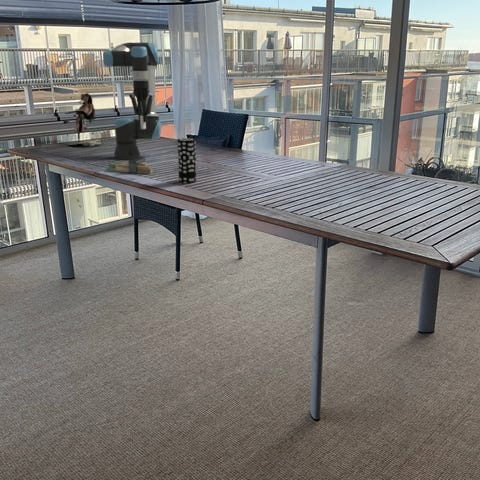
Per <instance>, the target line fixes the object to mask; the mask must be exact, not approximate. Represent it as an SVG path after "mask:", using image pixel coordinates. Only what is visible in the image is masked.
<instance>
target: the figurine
mask: <svg viewBox="0 0 480 480" xmlns="http://www.w3.org/2000/svg"><path fill="white" fill-rule="evenodd" d="M78 104H80V107H79V108H75V109H74V110H70V111H66V112H64V114H65V115H70V114H73V117H74V121H75V123H76V124H75V128H74V129H73V133H74V134H75V133H77V141H78V142H73V143H74V144H73V143H70V144H69V143H68V146H71V145H74V146H77V145H79V144H81V145H82V146H86V147H87V146H88V147H89V148H92V147H95V146H97V145H101V144H102V143H103V142H104V139H103V138H102V139H99V138H96V139H95V140H92V139H94V137H91V140H87V141H84V140H82V141H81V139H80V137H81V135H80V133H83V134H85V132H86V130H87V129H88V125H87V122H86V121H89V123H90V125H91V127H93V125H92V124H93V123H92V121H93V120H96V111H95V110H96V108H95V107H94V103H93V97H92V95H91V94H90V93H88V92H86V93H81V94H80V100H79V102H78ZM76 117H77V118H76ZM85 120H86V121H85ZM70 122H71V120H70V119H66V120H63V121H62V123H63V124H64V125H66V124H68V123H70ZM93 128H94V127H93ZM94 134H95V130H94V129H92V131H90V132H89V135H94ZM66 136H67V137H69V133H67V134H66ZM87 138H88V137H87V136H86V137H85V139H87Z"/></svg>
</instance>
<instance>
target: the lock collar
mask: <svg viewBox="0 0 480 480" xmlns="http://www.w3.org/2000/svg"><path fill="white" fill-rule="evenodd" d="M141 162H145V163H146V158H145V157H140V158H136V159H129V160H128V163H129V172H128V173H131V172H132V173H133V174H138V173H137V165H136V164H138V163H141ZM144 166H146V164H145V165H144Z"/></svg>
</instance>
